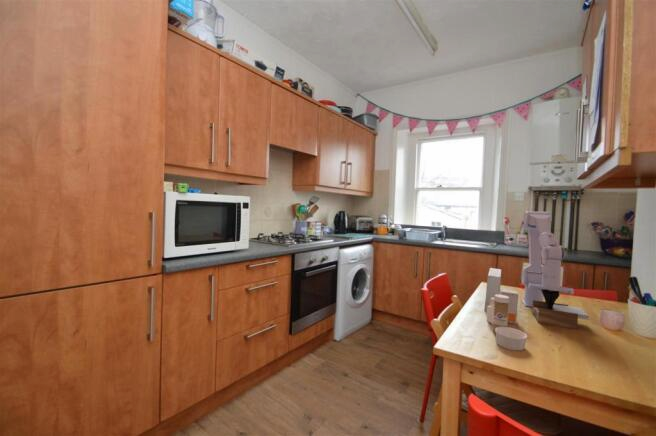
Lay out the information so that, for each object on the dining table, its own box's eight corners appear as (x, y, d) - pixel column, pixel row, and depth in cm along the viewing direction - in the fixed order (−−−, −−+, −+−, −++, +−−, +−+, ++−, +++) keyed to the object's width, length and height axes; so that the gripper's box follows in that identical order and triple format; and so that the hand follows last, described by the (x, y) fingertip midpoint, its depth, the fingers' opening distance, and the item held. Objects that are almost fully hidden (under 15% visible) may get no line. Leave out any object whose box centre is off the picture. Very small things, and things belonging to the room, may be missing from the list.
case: (532, 313, 125) (532, 300, 125) (566, 318, 120) (567, 304, 120) (538, 323, 114) (539, 308, 114) (577, 329, 109) (578, 314, 109)
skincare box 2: (498, 321, 115) (500, 291, 115) (498, 317, 119) (499, 288, 119) (516, 324, 113) (518, 293, 112) (515, 320, 116) (517, 291, 116)
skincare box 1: (498, 314, 124) (500, 276, 123) (484, 311, 126) (486, 275, 126) (499, 301, 142) (501, 268, 141) (487, 298, 144) (488, 267, 144)
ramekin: (532, 348, 93) (532, 334, 93) (517, 354, 89) (517, 340, 89) (503, 337, 101) (504, 324, 101) (488, 342, 97) (489, 329, 96)
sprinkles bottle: (493, 334, 103) (495, 296, 102) (492, 329, 107) (493, 293, 106) (508, 336, 101) (510, 298, 100) (506, 331, 105) (508, 295, 105)
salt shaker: (493, 320, 116) (494, 296, 116) (502, 324, 112) (503, 300, 112) (485, 321, 115) (487, 297, 114) (494, 325, 111) (495, 300, 111)
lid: (548, 307, 122) (548, 303, 122) (578, 311, 118) (579, 307, 118) (555, 314, 113) (555, 311, 113) (588, 319, 109) (588, 315, 109)
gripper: (531, 275, 117) (529, 308, 117) (577, 280, 111) (575, 315, 111) (528, 272, 123) (526, 303, 124) (571, 276, 117) (569, 309, 118)
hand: (549, 308), depth 118 cm, fingers closed
